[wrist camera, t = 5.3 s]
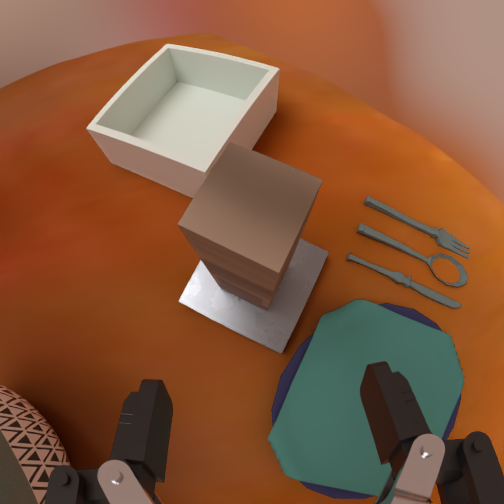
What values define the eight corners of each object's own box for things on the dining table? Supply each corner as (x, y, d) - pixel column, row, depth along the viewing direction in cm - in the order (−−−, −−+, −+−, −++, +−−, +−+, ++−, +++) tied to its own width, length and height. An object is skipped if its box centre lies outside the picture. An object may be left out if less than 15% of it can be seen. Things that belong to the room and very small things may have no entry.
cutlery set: (235, 463, 23) (234, 472, 21) (347, 190, 32) (354, 179, 29) (405, 501, 21) (414, 508, 19) (485, 259, 29) (496, 253, 27)
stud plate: (280, 353, 26) (285, 355, 21) (182, 303, 28) (165, 294, 23) (325, 256, 29) (339, 237, 24) (232, 213, 30) (227, 186, 25)
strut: (266, 311, 26) (279, 273, 12) (220, 288, 27) (177, 224, 12) (289, 265, 27) (322, 179, 13) (243, 243, 28) (229, 141, 13)
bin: (215, 208, 30) (205, 172, 24) (111, 163, 32) (86, 128, 26) (276, 111, 34) (279, 68, 27) (177, 82, 36) (166, 43, 29)
